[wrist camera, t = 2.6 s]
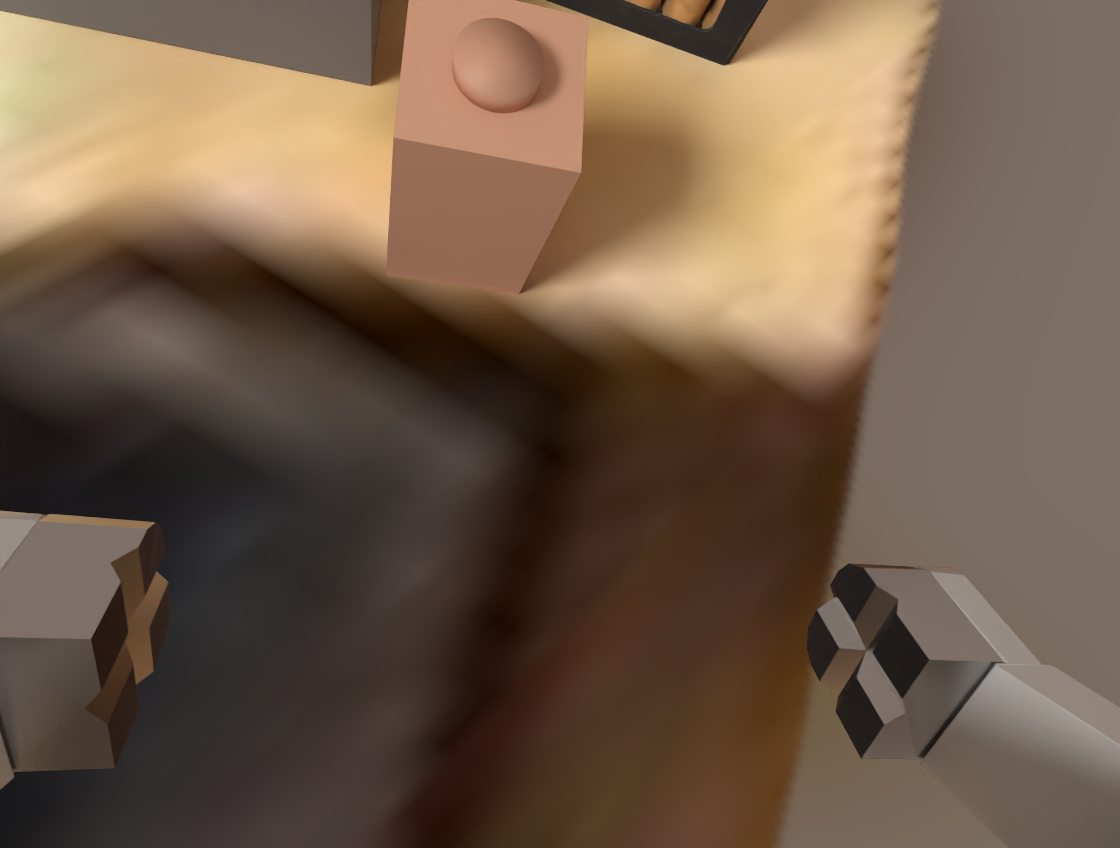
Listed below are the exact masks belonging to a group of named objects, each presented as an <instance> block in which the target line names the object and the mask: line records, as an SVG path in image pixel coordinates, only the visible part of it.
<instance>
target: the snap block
mask: <svg viewBox="0 0 1120 848" xmlns="http://www.w3.org/2000/svg"><path fill="white" fill-rule="evenodd" d="M587 25H588V18H587V17H583V16H579V15H575V14H570V13H566V12H562V11H558V10H554V9H550V8H546V7H542V6H537V5H533V4H529V3H525V2H521V1H517V0H409V1H408V11H407V20H406V29H405V38H404V47H403V56H402V65H401V74H400V83H399V92H398V102H397V111H396V120H395V129H394V138H393V157H392V176H391V195H390V214H389V232H388V251H387V270H386V275H388V276H395V277H402V278H409V279H415V280H422V281H429V282H436V283H443V284H450V285H457V286H464V287H471V288H478V289H485V290H492V291H499V292H506V293H513V294H519V293H520V291H521V289H522V287H523V285H524V283H525V281H526V279H527V277H528V275H529V273H530V271H531V269H532V267H533V266H534V264H535V262H536V260H537V258H538V256H539V254H540V252H541V250H542V248H543V246H544V244H545V242H546V240H547V238H548V236H549V235H550V233H551V231H552V229H553V227H554V225H555V223H556V221H557V219H558V217H559V215H560V213H561V211H562V209H563V207H564V205H565V203H566V202H567V200H568V198H569V196H570V194H571V192H572V190H573V188H574V186H575V184H576V182H577V180H578V178H579V176H580V174H581V168H582V144H583V120H584V97H585V73H586V49H587Z"/></svg>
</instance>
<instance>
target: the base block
mask: <svg viewBox="0 0 1120 848" xmlns="http://www.w3.org/2000/svg"><path fill="white" fill-rule="evenodd" d="M380 8H381V0H0V10H1V11H6V12H11V13H16V14H21V15H26V16H31V17H36V18H41V19H46V20H51V21H55V22H60V23H65V24H70V25H75V26H80V27H85V28H90V29H95V30H100V31H105V32H110V33H115V34H119V35H124V36H129V37H134V38H139V39H144V40H149V41H154V42H159V43H164V44H169V45H174V46H179V47H183V48H188V49H193V50H198V51H203V52H208V53H213V54H218V55H223V56H228V57H233V58H238V59H243V60H247V61H252V62H257V63H262V64H267V65H272V66H277V67H282V68H287V69H292V70H297V71H302V72H306V73H311V74H316V75H321V76H326V77H331V78H336V79H341V80H346V81H351V82H356V83H361V84H366V85H370V86H371V83H372V74H373V66H374V58H375V50H376V41H377V33H378V25H379V16H380Z"/></svg>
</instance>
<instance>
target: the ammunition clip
mask: <svg viewBox="0 0 1120 848" xmlns="http://www.w3.org/2000/svg"><path fill="white" fill-rule="evenodd" d="M547 1H550V2H552V3H555V4H558V5H560V6H563V7H566V8H569V9H571V10H574V11H577V12H579V13H582V14H585V15H588V16H590V17H593V18H596V19H598V20H601V21H604V22H607V23H609V24H612V25H615V26H617V27H620V28H623V29H626V30H628V31H631V32H634V33H636V34H639V35H642V36H645V37H647V38H650V39H653V40H655V41H658V42H661V43H664V44H666V45H669V46H672V47H675V48H677V49H680V50H683V51H685V52H688V53H691V54H694V55H696V56H699V57H702V58H704V59H707V60H710V61H713V62H715V63H718V64H721V65H726V64H728V63H730V62H731V60H732V58H733V57H734V55H735V53H736V52H737V50H738V49H739V47H740V45H741V44H742V42H743V40H744V39H745V37H746V35H747V34H748V32H749V30H750V29H751V27H752V26H753V24H754V22H755V21H756V19H757V17H758V16H759V14H760V12H761V11H762V9H763V7H764V6H765V4H766V3H767V1H768V0H547Z"/></svg>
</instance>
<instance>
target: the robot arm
mask: <svg viewBox="0 0 1120 848" xmlns="http://www.w3.org/2000/svg"><path fill="white" fill-rule="evenodd" d="M164 553H165V546H164V539H163V532H162V527H160V526H159V525H158V524H157V523H155V522H143V521H131V520H119V519H106V518H94V517H81V516H69V515H56V514H49V515H43V514H32V513H19V512H7V511H0V789H1V788H2V787H3V786H5V785H6V784H7V783H8V782H9V781H10V780H11V779H12V778H14V774H13V772H18V771H44V770H71V769H97V768H115V766H116V764H117V761H118V759H119V756H120V754H121V751H122V749H123V746H124V744H125V742H126V739H127V737H128V734H129V732H130V729H131V727H132V724H133V722H134V719H135V717H136V714H137V712H138V709H139V704H138V696H137V688H136V684H137V683H138V682H140V681H141V680H142V679H144V678H145V677H146V676H148V675H149V674H150V673H152V672H153V671H154V669H155V666H156V664H157V661H158V658H159V656H160V653H161V650H162V648H163V643H164V639H165V634H166V629H167V625H168V620H169V603H170V597H169V585H168V582H167V581H166V580H165V579H164V578H163V577H162V576H161V575H160V574H159V573H157V572H156V571H157V569H158V567H159V564H160V562H161V560H162V558H163V555H164ZM830 586H831V590H832V593H833V597H834V598H833V599H832V600H830V601H829V602H827V603H826V604H824V605H823V606H822V607H820V608H819V609H817V611H816V613H815V615H814V617H813V619H812V621H811V623H810V625H809V627H808V641H807V650H808V654H809V658H810V662H811V665H812V667H813V669H814V671H815V673H816V675H817V677H818V679H819V681H820V682H821V683H822V684H823V685H825V686H826V687H827V688H828V689H830V690H831V691H832V692H833V693H835V694H836V695H837V696H838V701H837V707H836V713H837V715H838V717H839V718H840V720H841V722H842V724H843V726H844V728H845V730H846V731H847V733H848V735H849V737H850V739H851V741H852V742H853V744H854V746H855V748H856V750H857V752H858V754H859V755H860V757H861V759H903V760H905V759H907V760H922V762H921V763H920V764H921V765H923V766H924V767H925V768H926V769H927V770H928V771H929V772H930V773H931V774H932V775H933V776H934V777H935V778H936V779H937V780H938V781H939V782H940V783H941V784H942V785H943V786H944V787H946V788H947V789H948V790H949V791H950V792H951V793H952V794H953V795H954V796H955V797H956V798H957V799H958V800H959V801H960V802H961V803H962V804H963V805H964V806H965V807H967V809H968V810H970V811H971V812H972V813H973V814H974V815H975V816H976V817H977V818H978V819H979V820H980V821H981V822H982V823H983V824H984V825H985V826H986V827H987V828H988V829H989V830H991V831H992V832H993V833H994V834H995V835H996V836H997V837H998V838H999V839H1000V840H1001V841H1002V842H1003V843H1004V844H1005V845H1006V846H1007V847H1008V848H1120V708H1119V707H1118V706H1116V705H1115V704H1113V703H1112V702H1110V701H1108V700H1107V699H1105V698H1103V697H1102V696H1100V695H1099V694H1097V693H1096V692H1094V691H1092V690H1091V689H1089V688H1088V687H1086V686H1084V685H1083V684H1081V683H1080V682H1078V681H1077V680H1075V679H1073V678H1072V677H1070V676H1068V675H1067V674H1065V673H1064V672H1062V671H1061V670H1059V669H1057V668H1056V667H1054V666H1053V665H1042V664H1041V663H1040V662H1039V661H1038V660H1037V659H1036V657H1035V656H1034V655H1033V654H1032V653H1031V652H1030V650H1029V649H1028V648H1027V647H1026V646H1025V645H1024V644H1023V642H1022V641H1021V640H1020V639H1019V638H1018V637H1017V636H1016V634H1015V633H1014V632H1013V631H1012V630H1011V629H1010V627H1009V626H1008V625H1007V624H1006V623H1005V622H1004V621H1003V619H1002V618H1001V617H1000V616H999V615H998V614H997V613H996V611H995V610H994V609H993V608H992V607H991V606H990V604H989V603H988V602H987V601H986V600H985V599H984V598H983V596H982V595H981V594H980V593H979V592H978V591H977V589H976V588H975V587H974V586H973V585H972V584H971V583H970V582H969V581H968V579H967V578H966V577H965V576H964V575H963V574H961V573H959V572H958V571H956V570H954V569H952V568H944V567H906V566H886V565H867V564H848V565H846V566H845V567H843V568H842V569H841V570H839V571H838V573H837V574H836V576H835V578H834V580H833V581H832V583H831V585H830Z"/></svg>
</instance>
